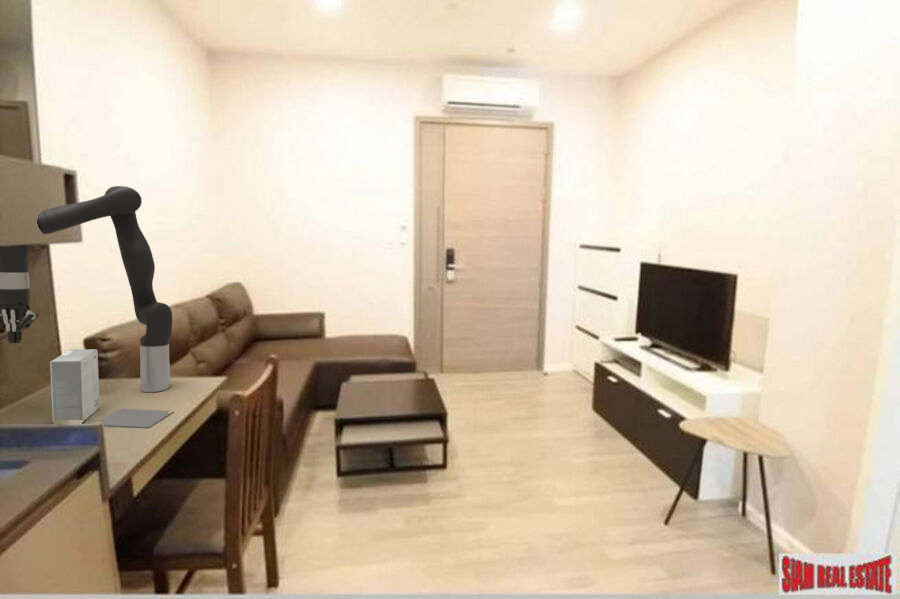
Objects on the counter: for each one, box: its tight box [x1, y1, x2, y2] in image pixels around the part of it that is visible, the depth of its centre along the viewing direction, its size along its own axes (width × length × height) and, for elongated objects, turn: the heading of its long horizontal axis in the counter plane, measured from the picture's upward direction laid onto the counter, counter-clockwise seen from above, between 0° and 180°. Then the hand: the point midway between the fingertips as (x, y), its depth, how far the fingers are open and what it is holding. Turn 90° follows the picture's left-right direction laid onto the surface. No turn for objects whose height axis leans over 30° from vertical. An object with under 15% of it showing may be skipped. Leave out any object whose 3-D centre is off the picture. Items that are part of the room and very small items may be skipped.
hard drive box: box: [49, 348, 101, 421], centre depth 146 cm, size 16×8×20 cm, turn 21°
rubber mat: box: [96, 408, 171, 429], centre depth 148 cm, size 14×17×1 cm
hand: (14, 342), depth 144 cm, fingers closed
